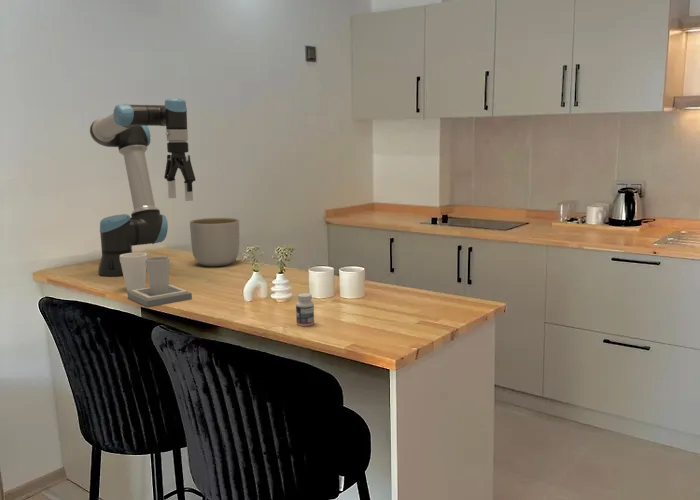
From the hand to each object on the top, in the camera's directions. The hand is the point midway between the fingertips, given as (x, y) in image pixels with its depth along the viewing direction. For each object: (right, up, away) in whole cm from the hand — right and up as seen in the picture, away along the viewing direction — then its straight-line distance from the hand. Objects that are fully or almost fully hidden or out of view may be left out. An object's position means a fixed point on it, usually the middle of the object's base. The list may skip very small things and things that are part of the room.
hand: (180, 199), depth 243 cm
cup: (-2, -34, -19) cm, 39 cm away
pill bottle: (+50, -41, -50) cm, 82 cm away
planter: (+5, -25, +41) cm, 48 cm away
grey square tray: (-2, -36, -19) cm, 40 cm away
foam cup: (-15, -34, -6) cm, 37 cm away
